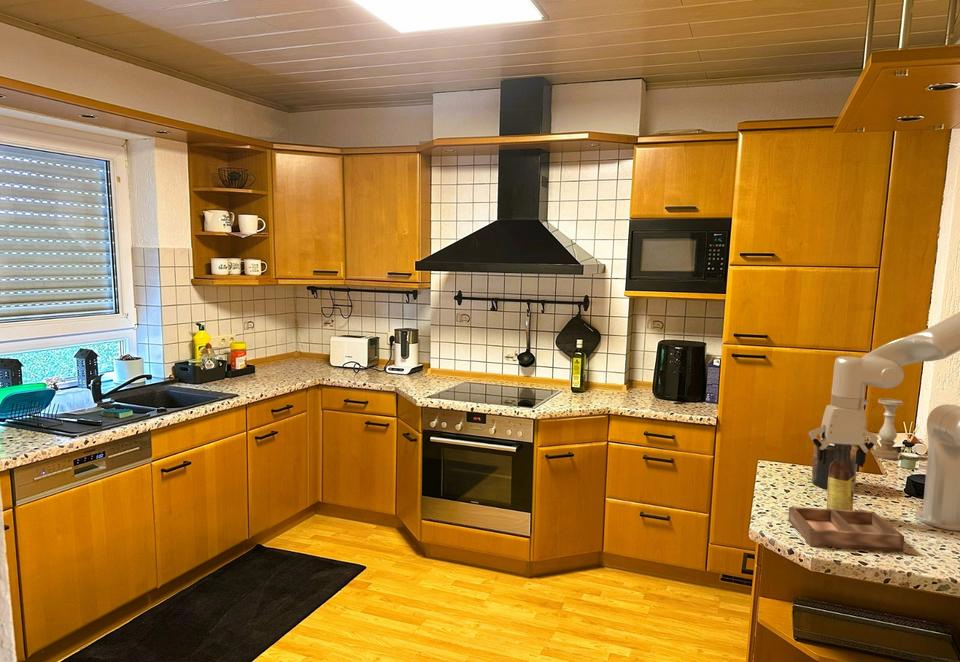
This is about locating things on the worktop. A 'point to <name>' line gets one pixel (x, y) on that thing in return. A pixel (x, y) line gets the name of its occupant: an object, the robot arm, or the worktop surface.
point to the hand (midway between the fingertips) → (840, 464)
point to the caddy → (845, 529)
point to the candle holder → (888, 430)
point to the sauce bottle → (841, 480)
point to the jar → (822, 470)
